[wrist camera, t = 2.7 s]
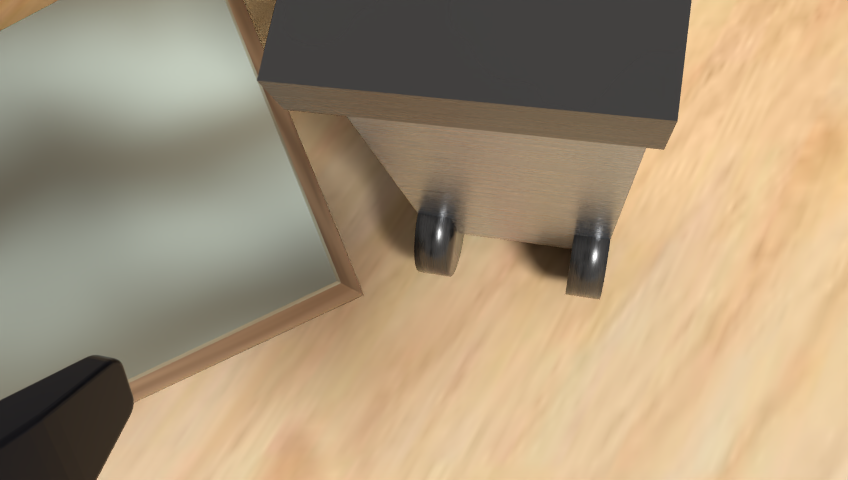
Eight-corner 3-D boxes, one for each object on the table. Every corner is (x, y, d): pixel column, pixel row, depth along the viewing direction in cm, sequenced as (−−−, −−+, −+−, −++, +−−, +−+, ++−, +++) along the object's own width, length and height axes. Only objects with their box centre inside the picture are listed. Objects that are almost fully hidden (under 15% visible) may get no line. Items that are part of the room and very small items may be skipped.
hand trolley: (596, 305, 22) (673, 160, 8) (426, 278, 23) (248, 113, 9) (625, 88, 23) (730, -342, 10) (463, 74, 24) (355, -326, 11)
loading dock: (363, 294, 23) (336, 280, 20) (36, 448, 24) (-34, 456, 21) (234, -22, 27) (196, -72, 24) (-45, 121, 28) (-113, 89, 25)
